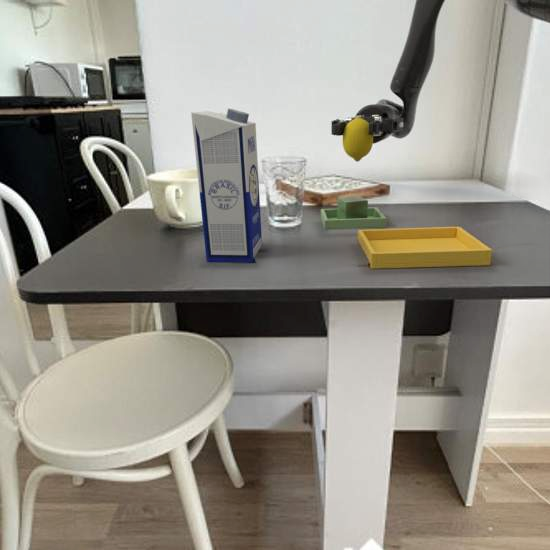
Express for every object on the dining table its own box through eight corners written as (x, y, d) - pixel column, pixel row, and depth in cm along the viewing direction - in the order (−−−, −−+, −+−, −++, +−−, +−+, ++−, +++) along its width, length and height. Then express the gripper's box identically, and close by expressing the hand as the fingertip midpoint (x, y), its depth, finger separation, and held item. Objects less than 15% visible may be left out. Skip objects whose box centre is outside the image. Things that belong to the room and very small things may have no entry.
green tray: (376, 218, 80) (376, 207, 80) (386, 230, 73) (386, 218, 72) (320, 220, 81) (320, 209, 80) (324, 232, 73) (324, 220, 72)
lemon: (340, 163, 80) (340, 117, 77) (345, 160, 85) (345, 116, 82) (370, 163, 79) (372, 116, 76) (373, 159, 84) (375, 115, 81)
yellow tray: (457, 239, 66) (459, 226, 66) (490, 265, 56) (492, 249, 55) (357, 243, 67) (357, 229, 66) (370, 268, 57) (371, 253, 56)
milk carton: (220, 246, 68) (207, 109, 61) (262, 247, 67) (255, 107, 60) (206, 262, 62) (190, 110, 54) (252, 262, 60) (243, 108, 53)
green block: (357, 218, 79) (358, 195, 77) (367, 223, 75) (368, 200, 74) (336, 220, 78) (337, 197, 76) (345, 225, 74) (345, 202, 73)
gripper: (343, 105, 93) (315, 108, 79) (412, 102, 87) (396, 104, 73) (343, 142, 96) (316, 151, 82) (410, 141, 90) (394, 150, 76)
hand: (354, 129), depth 78 cm, fingers closed on lemon, 5 cm apart
